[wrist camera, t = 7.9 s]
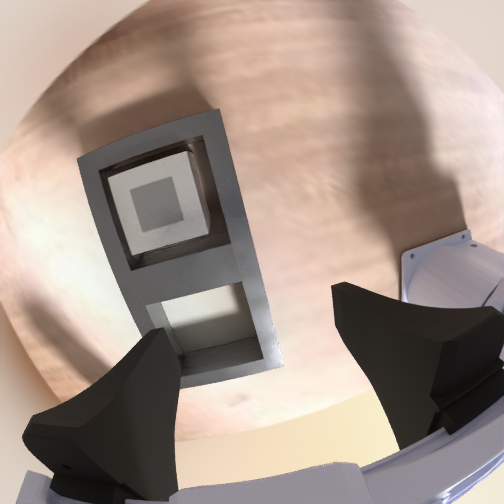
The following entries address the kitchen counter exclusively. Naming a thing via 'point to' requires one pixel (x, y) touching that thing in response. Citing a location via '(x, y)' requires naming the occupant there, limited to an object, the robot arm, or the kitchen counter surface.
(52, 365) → the kitchen counter surface
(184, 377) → the grey rectangular tray
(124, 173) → the gray block
